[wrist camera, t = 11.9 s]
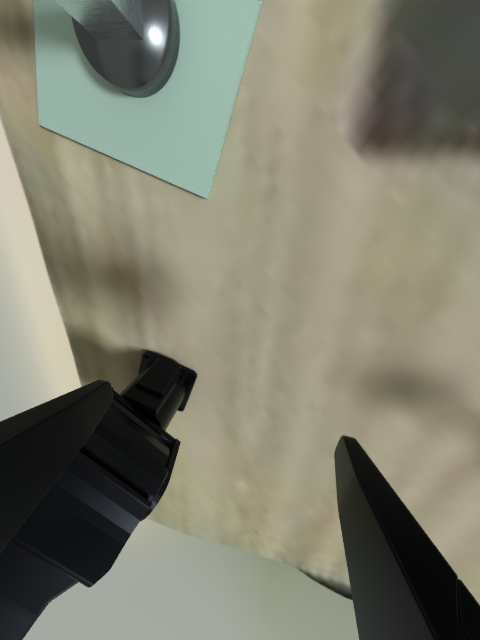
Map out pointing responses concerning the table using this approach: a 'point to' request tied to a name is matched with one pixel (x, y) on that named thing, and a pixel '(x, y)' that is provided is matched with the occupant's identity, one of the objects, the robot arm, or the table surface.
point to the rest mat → (159, 109)
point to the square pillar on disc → (128, 41)
